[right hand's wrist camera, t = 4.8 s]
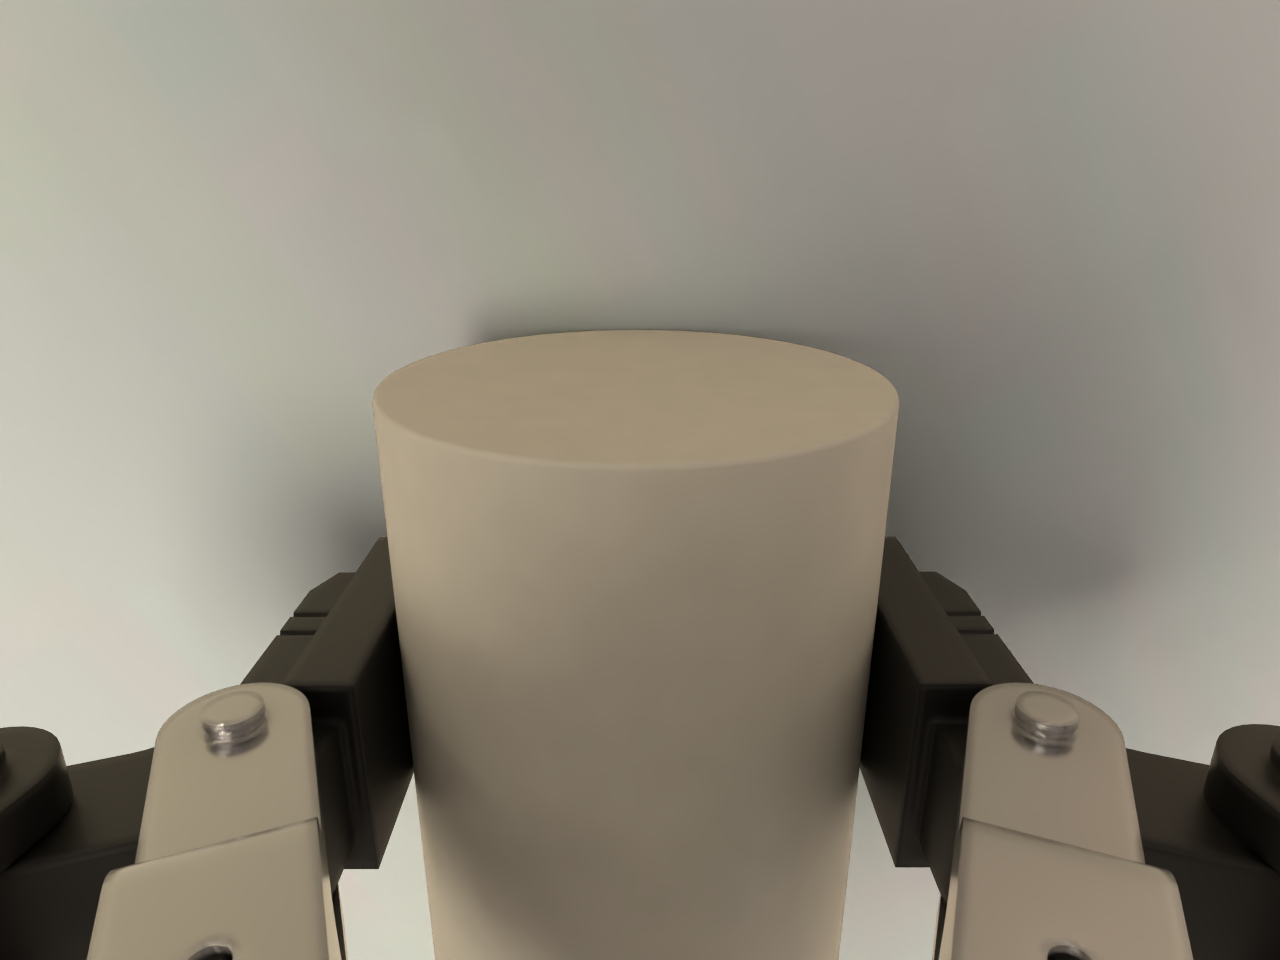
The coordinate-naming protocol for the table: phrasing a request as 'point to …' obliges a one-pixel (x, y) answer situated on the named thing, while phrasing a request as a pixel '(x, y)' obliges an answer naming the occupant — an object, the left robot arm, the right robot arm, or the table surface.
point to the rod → (636, 637)
